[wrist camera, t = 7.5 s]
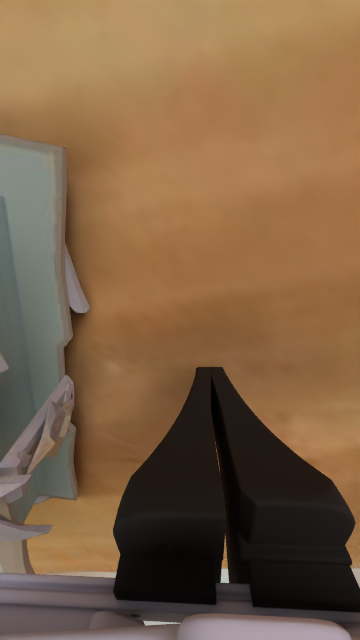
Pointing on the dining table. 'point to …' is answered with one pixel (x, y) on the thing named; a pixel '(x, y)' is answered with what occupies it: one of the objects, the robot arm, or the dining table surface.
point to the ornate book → (34, 342)
